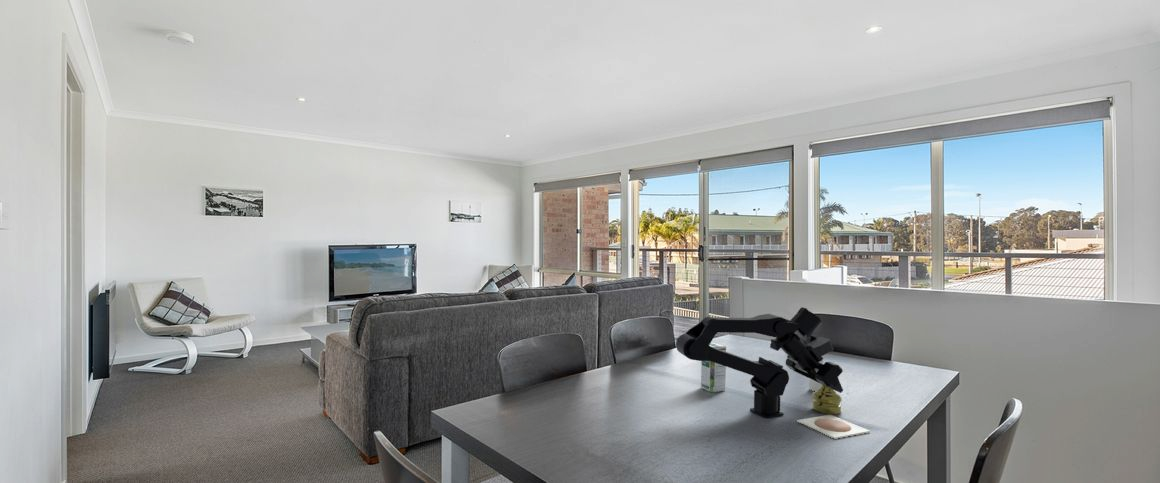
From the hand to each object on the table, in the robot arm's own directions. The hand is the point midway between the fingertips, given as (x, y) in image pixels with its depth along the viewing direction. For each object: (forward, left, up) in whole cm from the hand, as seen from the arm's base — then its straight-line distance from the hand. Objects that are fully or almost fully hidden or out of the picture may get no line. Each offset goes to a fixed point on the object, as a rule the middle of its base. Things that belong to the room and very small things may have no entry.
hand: (830, 386), depth 142 cm
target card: (-10, -10, -7) cm, 16 cm away
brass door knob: (-1, 0, -7) cm, 7 cm away
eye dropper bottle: (+11, +14, -7) cm, 19 cm away
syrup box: (-20, +27, -7) cm, 35 cm away
